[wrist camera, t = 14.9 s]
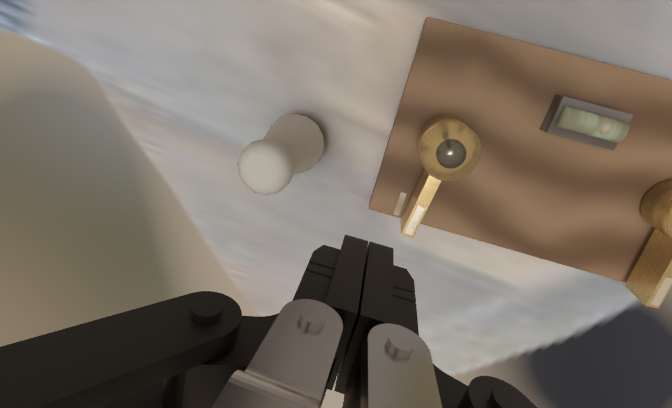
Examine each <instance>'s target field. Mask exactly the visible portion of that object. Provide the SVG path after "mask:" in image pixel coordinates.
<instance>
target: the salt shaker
mask: <svg viewBox="0 0 672 408" xmlns="http://www.w3.org/2000/svg"><path fill="white" fill-rule="evenodd" d="M323 151H324V140H323V134H322V132H321V131H320V129H319V127H318V125H317V124H316V123H315V122H314V121H312V120H311V119H309V118H308V117H307V116H302V115H297V114H291V115H287V116H284V117H281V118H280V119H279V120H278V121H276V122H275V123H274V124H273V125H272V126H271V128H270V130H269V131H268V133H267V134H266V136H265V137H264V139H262V140H258V141H254V142H252V143H251V144H250V145H248V146H247V147H246V148H245V149H244V150H243V151H242V153H241V155H240V158H239V161H238V172H239V176H240V178H241V180H242V181H243V183H244V184H245V186H246V187H248V188H249V189H250V190H252V191H253V192H254V193H258V194H263V195H270V194H274V193H278V192H280V191H281V190H282V189H284V188H285V187H286V186H287V185H288V184H289V183H290V181H291V178H292V176H293V175H295V174H297V173H300V172H303V171H306V170H308V169H310V168H311V167H313V166H314V165H315V164H316V163H317V162H318V161H319V160H320V157H321V155H322V153H323Z"/></svg>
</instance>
